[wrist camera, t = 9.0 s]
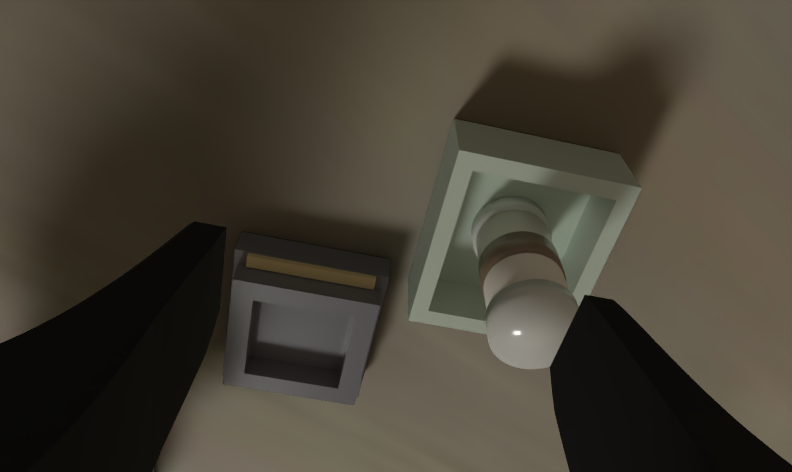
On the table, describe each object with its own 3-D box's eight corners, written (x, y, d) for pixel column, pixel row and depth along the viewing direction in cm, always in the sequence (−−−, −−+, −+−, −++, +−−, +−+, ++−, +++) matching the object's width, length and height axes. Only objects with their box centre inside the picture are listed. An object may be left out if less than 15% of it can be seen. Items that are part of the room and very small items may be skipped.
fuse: (530, 267, 24) (561, 377, 19) (461, 250, 24) (474, 358, 19) (559, 206, 23) (601, 308, 18) (486, 187, 22) (507, 286, 17)
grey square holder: (359, 377, 28) (356, 415, 26) (229, 355, 28) (216, 393, 26) (390, 259, 25) (389, 293, 23) (242, 231, 24) (228, 265, 22)
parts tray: (551, 305, 26) (563, 347, 24) (408, 279, 25) (408, 320, 23) (619, 153, 22) (642, 188, 20) (454, 118, 21) (459, 150, 19)
